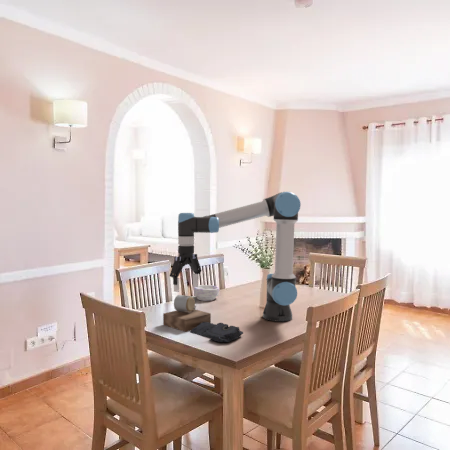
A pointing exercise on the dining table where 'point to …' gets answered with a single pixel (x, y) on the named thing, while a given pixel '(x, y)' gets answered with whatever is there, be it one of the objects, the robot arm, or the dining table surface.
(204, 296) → the paper bowls
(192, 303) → the ceramic mug
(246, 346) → the dining table surface
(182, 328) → the walnut riser block
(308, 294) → the dining table surface
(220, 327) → the black flat crumpled piece
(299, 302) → the dining table surface
